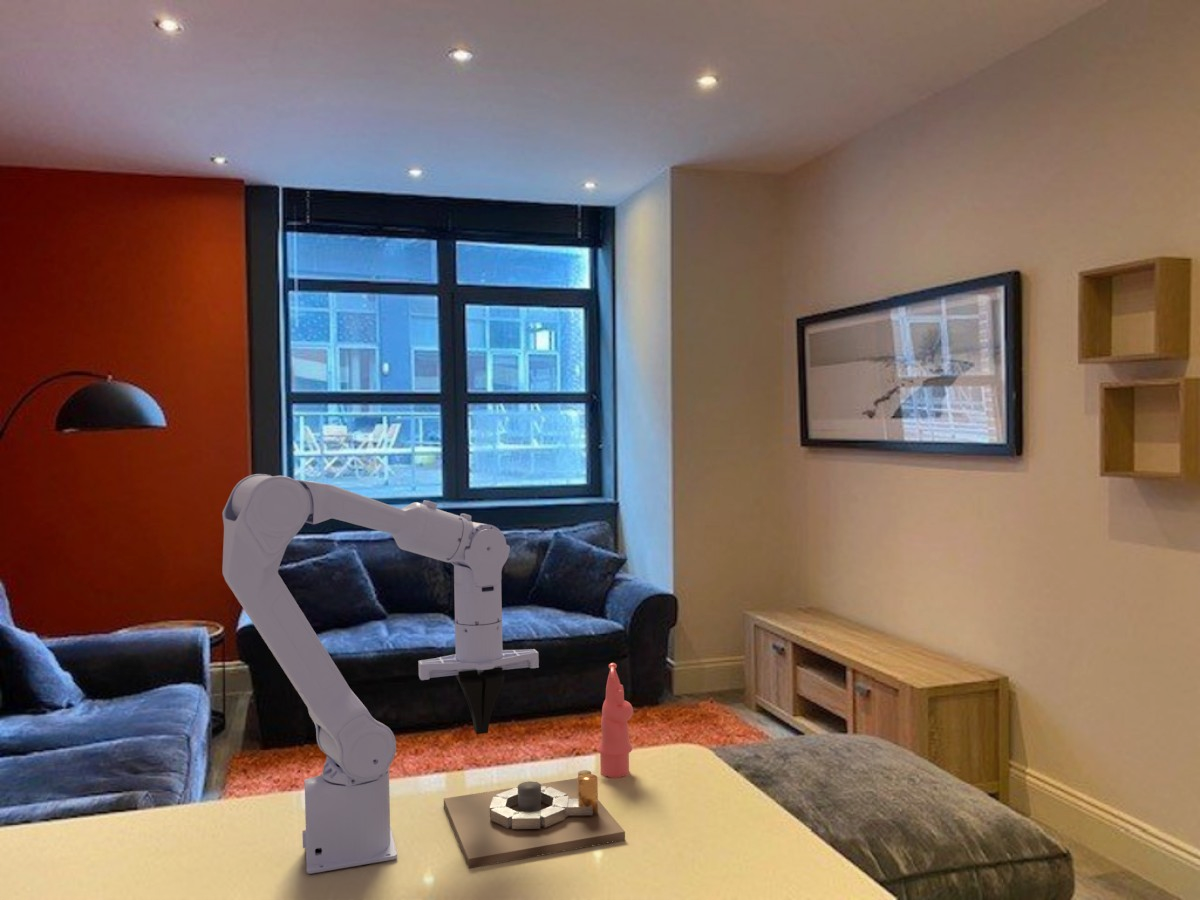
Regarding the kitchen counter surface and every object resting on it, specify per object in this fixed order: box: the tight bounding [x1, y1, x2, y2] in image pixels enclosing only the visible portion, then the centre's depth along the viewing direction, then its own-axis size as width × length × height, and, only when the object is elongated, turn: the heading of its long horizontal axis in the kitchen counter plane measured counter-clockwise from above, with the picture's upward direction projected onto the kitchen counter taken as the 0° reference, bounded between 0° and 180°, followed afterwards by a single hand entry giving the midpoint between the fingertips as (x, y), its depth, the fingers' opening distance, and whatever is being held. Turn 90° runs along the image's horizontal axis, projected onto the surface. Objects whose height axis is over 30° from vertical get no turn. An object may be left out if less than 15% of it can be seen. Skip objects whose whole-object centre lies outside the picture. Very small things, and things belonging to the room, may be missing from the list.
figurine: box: [596, 662, 634, 778], centre depth 120 cm, size 5×5×15 cm
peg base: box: [443, 769, 626, 869], centre depth 105 cm, size 18×17×5 cm
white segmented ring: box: [490, 773, 599, 829], centre depth 105 cm, size 13×9×4 cm
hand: (480, 731), depth 107 cm, fingers closed
